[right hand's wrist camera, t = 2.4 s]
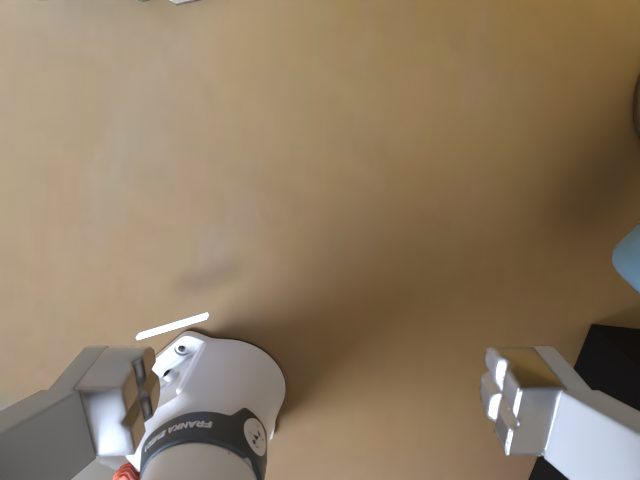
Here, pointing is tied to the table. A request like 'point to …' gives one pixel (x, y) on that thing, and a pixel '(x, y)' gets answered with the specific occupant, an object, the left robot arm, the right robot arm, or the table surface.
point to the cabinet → (183, 1)
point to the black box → (604, 375)
